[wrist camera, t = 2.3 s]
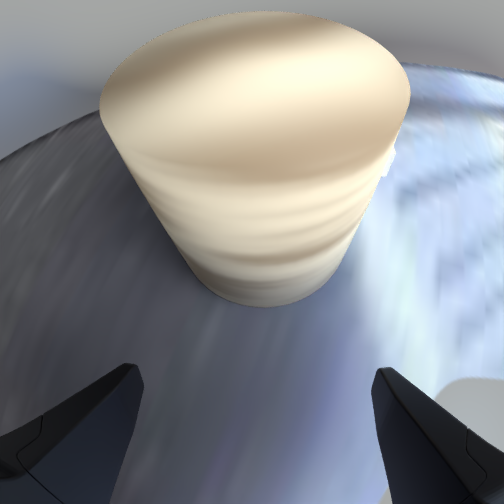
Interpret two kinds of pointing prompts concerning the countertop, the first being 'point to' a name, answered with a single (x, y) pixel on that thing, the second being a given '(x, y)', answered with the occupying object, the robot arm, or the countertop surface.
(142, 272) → the countertop surface
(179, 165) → the birch canister
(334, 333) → the countertop surface
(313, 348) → the countertop surface
